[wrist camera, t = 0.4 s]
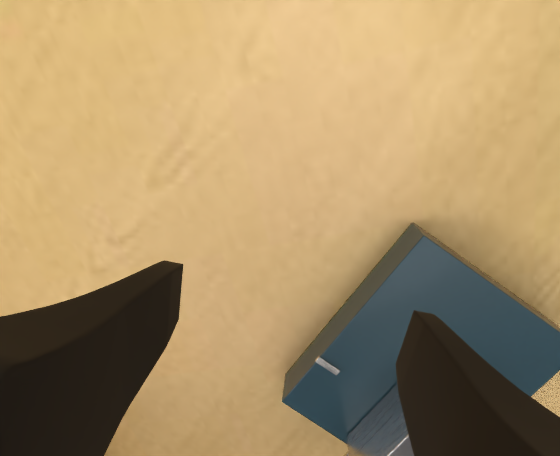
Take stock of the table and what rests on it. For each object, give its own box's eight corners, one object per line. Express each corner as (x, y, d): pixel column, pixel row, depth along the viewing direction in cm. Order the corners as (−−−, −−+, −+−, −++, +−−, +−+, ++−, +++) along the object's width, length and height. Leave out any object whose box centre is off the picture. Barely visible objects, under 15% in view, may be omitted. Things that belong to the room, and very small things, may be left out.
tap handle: (372, 452, 23) (382, 515, 19) (346, 435, 23) (351, 496, 19) (444, 380, 21) (469, 434, 18) (416, 361, 21) (436, 412, 17)
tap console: (398, 475, 26) (407, 514, 24) (269, 390, 25) (263, 421, 23) (557, 324, 22) (587, 351, 20) (410, 220, 22) (423, 234, 19)
